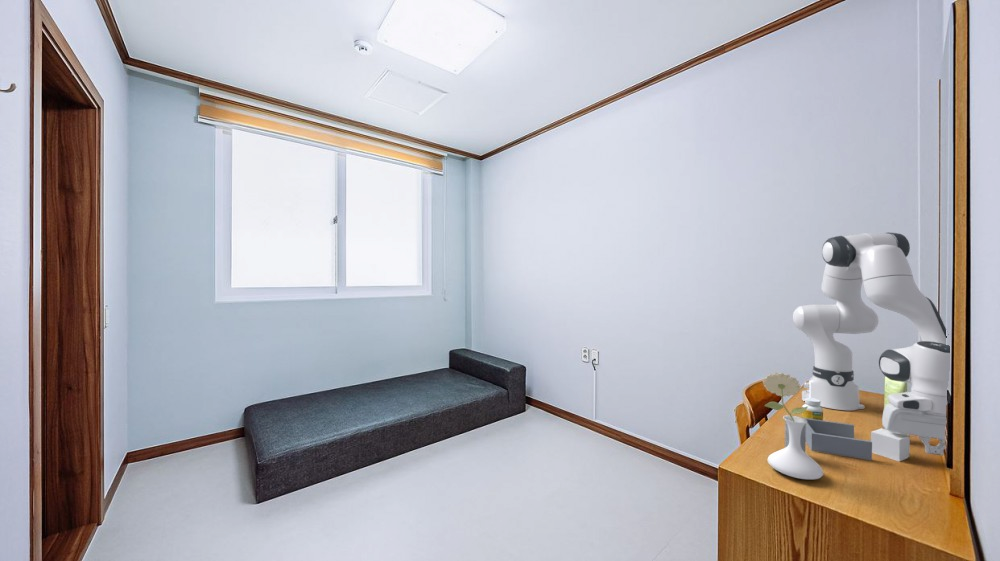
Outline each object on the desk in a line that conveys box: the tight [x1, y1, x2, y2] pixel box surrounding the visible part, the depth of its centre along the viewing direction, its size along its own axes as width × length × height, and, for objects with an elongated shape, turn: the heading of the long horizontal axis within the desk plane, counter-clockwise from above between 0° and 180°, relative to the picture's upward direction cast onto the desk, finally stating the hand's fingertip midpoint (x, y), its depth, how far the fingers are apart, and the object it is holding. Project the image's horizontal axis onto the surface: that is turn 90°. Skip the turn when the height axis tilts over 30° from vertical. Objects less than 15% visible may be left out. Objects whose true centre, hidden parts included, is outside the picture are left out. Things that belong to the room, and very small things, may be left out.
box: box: [800, 416, 873, 461], centre depth 113 cm, size 14×13×5 cm
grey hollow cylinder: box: [784, 420, 806, 453], centre depth 107 cm, size 4×4×10 cm
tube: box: [883, 375, 908, 435], centre depth 117 cm, size 6×5×20 cm
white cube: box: [870, 427, 911, 462], centre depth 108 cm, size 6×6×6 cm
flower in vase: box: [762, 372, 824, 480], centre depth 98 cm, size 13×11×25 cm
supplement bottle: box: [801, 398, 824, 420], centre depth 126 cm, size 5×5×10 cm
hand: (933, 453), depth 104 cm, fingers closed
